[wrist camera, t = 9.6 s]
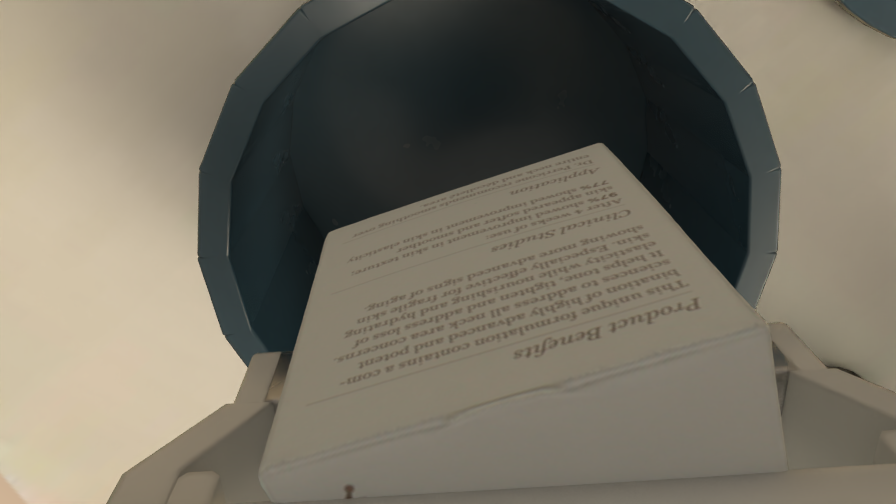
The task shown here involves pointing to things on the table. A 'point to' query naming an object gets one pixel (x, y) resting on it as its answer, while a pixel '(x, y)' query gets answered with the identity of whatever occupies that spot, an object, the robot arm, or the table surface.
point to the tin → (470, 133)
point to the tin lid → (873, 14)
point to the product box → (522, 347)
